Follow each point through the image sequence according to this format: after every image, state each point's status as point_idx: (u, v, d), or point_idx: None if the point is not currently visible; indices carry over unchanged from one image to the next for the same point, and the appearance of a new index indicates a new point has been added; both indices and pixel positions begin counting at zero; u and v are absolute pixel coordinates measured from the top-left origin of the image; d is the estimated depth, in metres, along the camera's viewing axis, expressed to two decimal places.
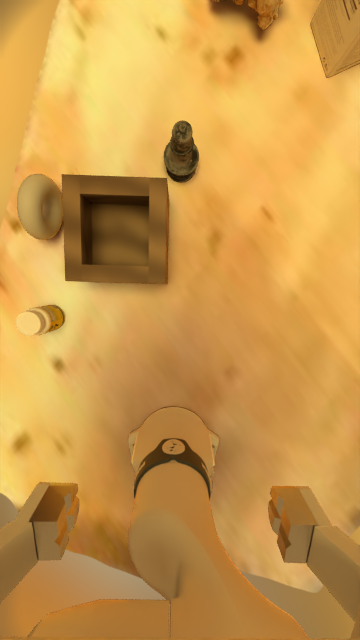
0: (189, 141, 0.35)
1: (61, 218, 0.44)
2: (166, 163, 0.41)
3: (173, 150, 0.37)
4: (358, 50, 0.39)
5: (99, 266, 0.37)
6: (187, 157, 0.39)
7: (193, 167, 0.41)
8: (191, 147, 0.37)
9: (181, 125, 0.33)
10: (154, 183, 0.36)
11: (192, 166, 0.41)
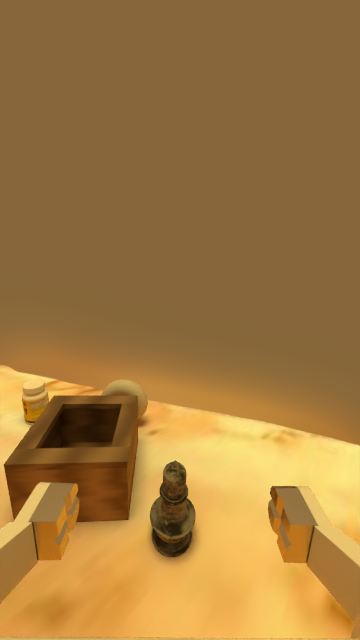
0: (168, 485, 0.29)
1: None
2: None
3: None
4: None
5: (55, 413, 0.40)
6: (165, 510, 0.31)
7: (160, 530, 0.30)
8: (169, 501, 0.30)
9: (174, 461, 0.30)
10: (123, 450, 0.33)
11: (160, 528, 0.30)
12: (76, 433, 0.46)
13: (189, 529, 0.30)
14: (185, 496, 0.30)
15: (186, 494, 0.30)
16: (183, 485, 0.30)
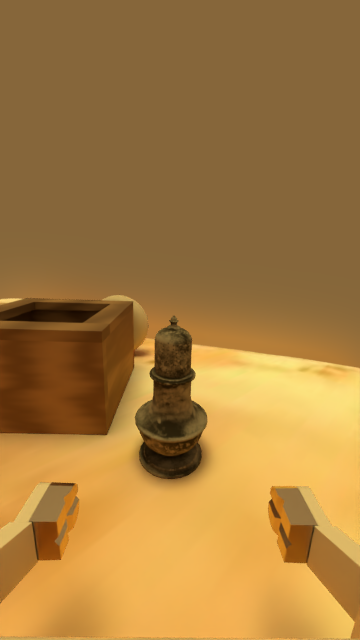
0: (161, 352, 0.18)
1: None
2: None
3: None
4: None
5: (20, 305, 0.30)
6: (157, 401, 0.19)
7: (148, 430, 0.18)
8: (164, 380, 0.18)
9: None
10: (99, 325, 0.22)
11: (150, 428, 0.18)
12: None
13: (197, 432, 0.18)
14: (190, 377, 0.19)
15: (191, 375, 0.19)
16: (186, 355, 0.18)
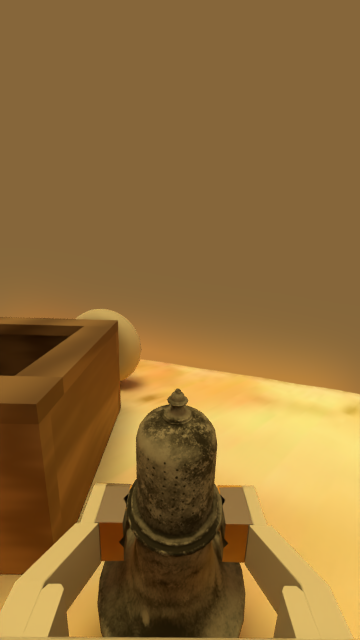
0: (149, 478, 0.08)
1: None
2: None
3: None
4: None
5: None
6: (143, 568, 0.09)
7: None
8: (156, 539, 0.08)
9: None
10: (40, 383, 0.12)
11: None
12: None
13: None
14: (214, 523, 0.08)
15: (215, 516, 0.09)
16: (207, 481, 0.08)
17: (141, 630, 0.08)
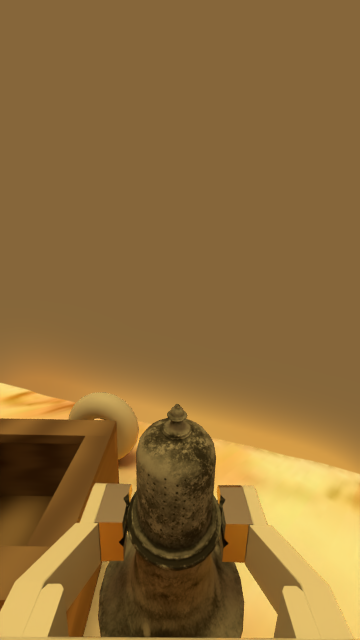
0: (150, 493, 0.08)
1: None
2: None
3: None
4: None
5: None
6: (143, 581, 0.09)
7: None
8: (157, 553, 0.08)
9: None
10: None
11: None
12: (17, 481, 0.28)
13: None
14: (213, 535, 0.09)
15: (215, 528, 0.09)
16: (206, 495, 0.08)
17: None
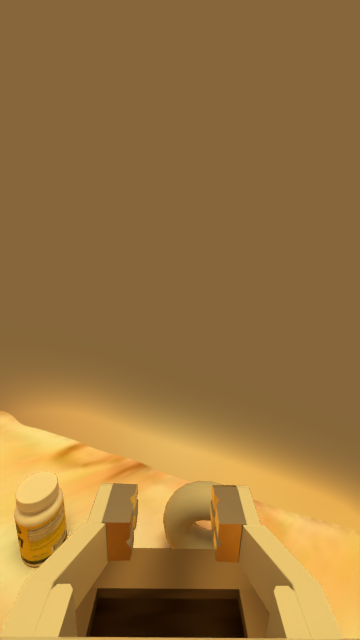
0: None
1: None
2: None
3: None
4: None
5: None
6: None
7: None
8: None
9: None
10: None
11: None
12: (122, 628, 0.21)
13: None
14: None
15: None
16: None
17: None
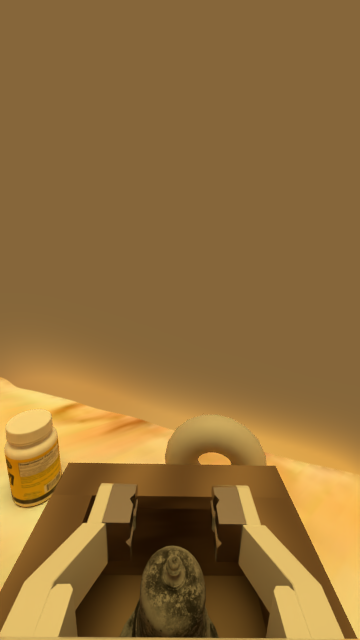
0: (149, 632, 0.10)
1: None
2: None
3: None
4: None
5: None
6: None
7: None
8: None
9: (172, 557, 0.10)
10: None
11: None
12: None
13: None
14: None
15: None
16: (195, 635, 0.10)
17: None
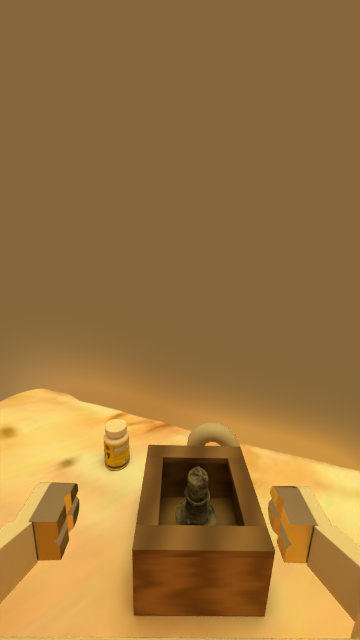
0: (191, 487, 0.33)
1: None
2: None
3: None
4: None
5: (160, 471, 0.35)
6: (188, 510, 0.34)
7: None
8: (192, 502, 0.33)
9: (198, 466, 0.34)
10: (262, 533, 0.28)
11: None
12: (170, 487, 0.41)
13: None
14: (206, 500, 0.33)
15: (207, 499, 0.34)
16: (204, 490, 0.33)
17: (187, 524, 0.34)
